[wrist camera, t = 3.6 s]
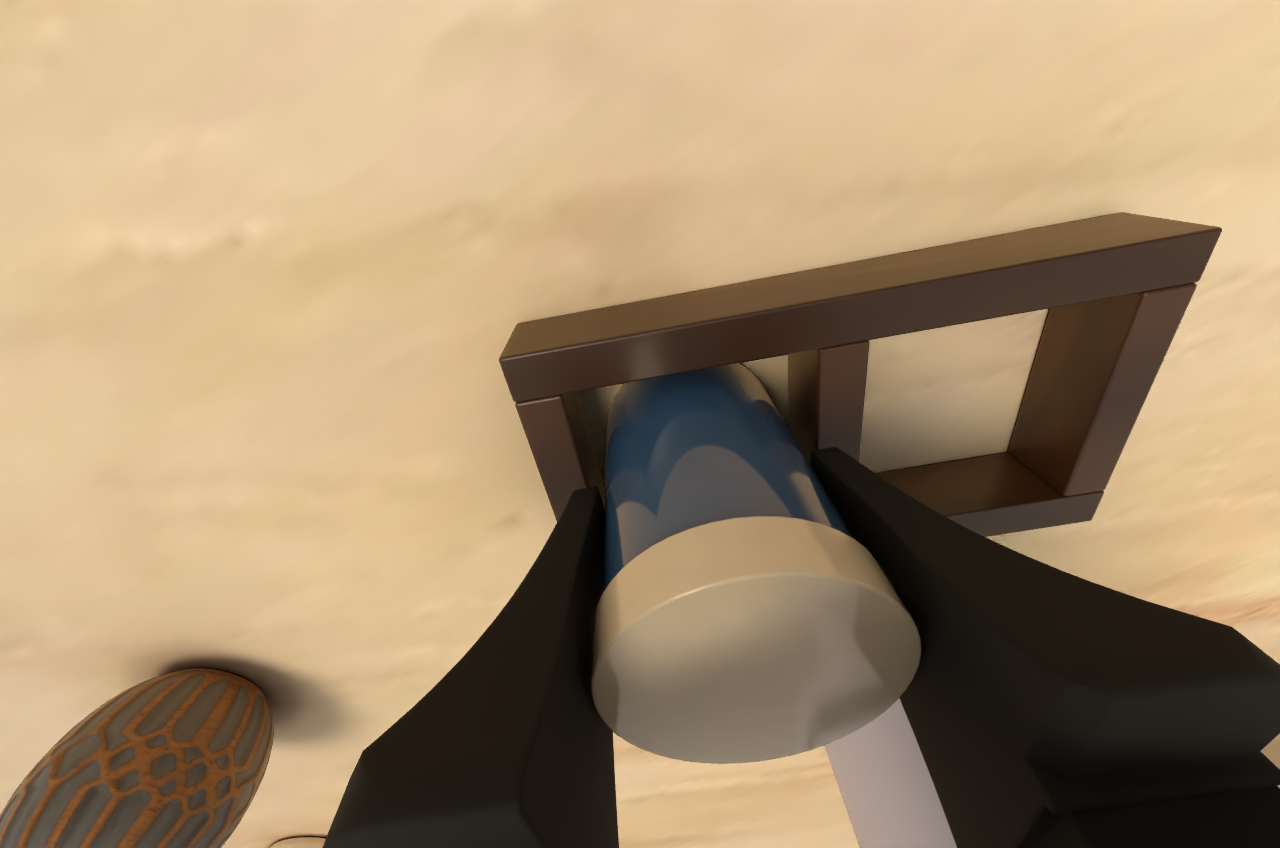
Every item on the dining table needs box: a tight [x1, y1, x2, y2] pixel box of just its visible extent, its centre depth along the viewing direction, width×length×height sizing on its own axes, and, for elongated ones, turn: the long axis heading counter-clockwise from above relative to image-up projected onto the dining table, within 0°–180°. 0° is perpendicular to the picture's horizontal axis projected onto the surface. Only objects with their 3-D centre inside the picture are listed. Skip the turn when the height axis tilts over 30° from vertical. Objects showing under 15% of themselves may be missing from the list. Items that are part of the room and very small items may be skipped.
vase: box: [0, 668, 274, 848], centre depth 17 cm, size 7×7×9 cm
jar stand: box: [499, 212, 1222, 537], centre depth 14 cm, size 9×16×2 cm, turn 100°
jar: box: [591, 363, 921, 764], centre depth 11 cm, size 6×6×8 cm
